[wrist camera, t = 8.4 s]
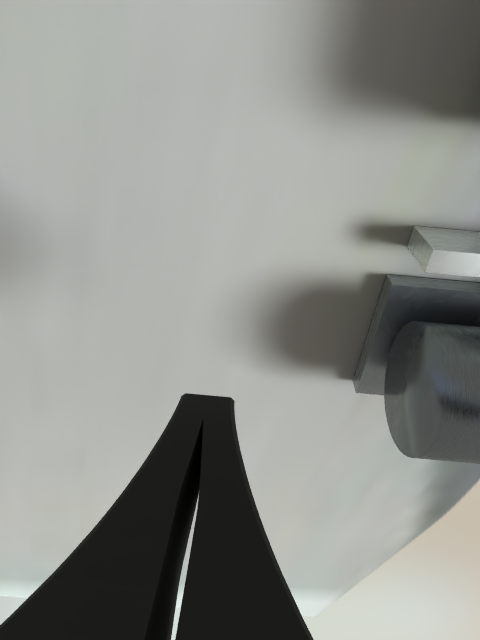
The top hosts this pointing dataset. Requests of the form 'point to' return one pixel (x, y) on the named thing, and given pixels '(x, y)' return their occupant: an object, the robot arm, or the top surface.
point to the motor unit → (429, 350)
